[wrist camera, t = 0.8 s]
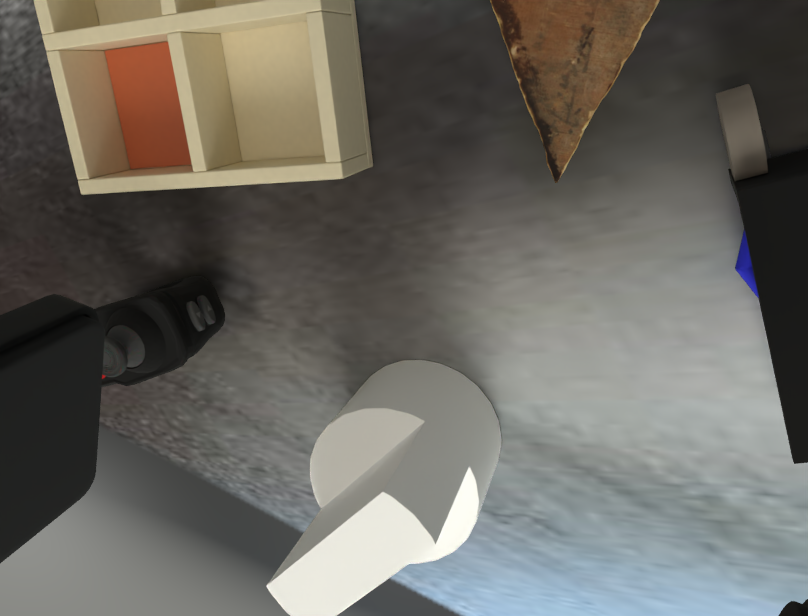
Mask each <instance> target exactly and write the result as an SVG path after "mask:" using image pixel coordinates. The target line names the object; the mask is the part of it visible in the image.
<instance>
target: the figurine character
mask: <svg viewBox="0 0 808 616" xmlns="http://www.w3.org/2000/svg"><path fill="white" fill-rule="evenodd" d="M716 100H717V106H718V112H719V117H720V122H721V127H722V132H723V137H724V141H725V146H726V150H727V155H728V159H729V164H730V168H731V169H728V170H729V174H730V179H731V183H732V186H733V189H734V191H735V194H736V197H737V199H738V202H739V206H740V211H741V216H742V220H743V225H744V232H743V237H742V241H741V245H740V250H739V254H738V258H737V263H736V267H735V269H736V271H737V272H738V273H739V274H740V276H741V277H742V278H743V279H744V281H745V282H746V283H747V285H748V286H749V287H750V288H751V290H752V291H753V292H754V293H755V295H756V296H757V297H758V298H759V301H760V306H761V311H762V316H763V320H764V325H765V330H766V335H767V339H768V344H769V349H770V354H771V359H772V363H773V368H774V373H775V378H776V382H777V387H778V392H779V397H780V401H781V406H782V411H783V416H784V420H785V425H786V430H787V435H788V440H789V444H790V449H791V454H792V458H793V462H794V464H796V463H807V462H808V149H806V150H802V151H798V152H794V153H790V154H786V155H782V156H778V157H774V158H771V155H770V151H769V146H768V142H767V138H766V133H765V131H764V130H763V129H762V128H761V126H760V121H759V117H758V112H757V108H756V104H755V100H754V97H753V93H752V90H751V87H750V85H749V84H746V85H743V86H739V87H736V88H733V89H729V90H726V91H723V92H719V93H716Z"/></svg>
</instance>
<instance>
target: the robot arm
mask: <svg viewBox="0 0 808 616" xmlns="http://www.w3.org/2000/svg"><path fill="white" fill-rule="evenodd" d="M104 341H105V329H104V326H103V324H101V323H100V322H99V317H98V315H97V312H96V311H95V310H94V309H93V308H91V307H89V306H86V305H84V304H81V303H79V302H76V301H74V300H71V299H69V298H66V297H63V296H61V295H56V294H53V295H49V296H46V297H43V298H41V299H38V300H36V301H34V302H31V303H29V304H27V305H24V306H22V307H19V308H17V309H15V310H12V311H10V312H7V313H5V314H3V315H0V563H1V562H2V561H4V560H5V559H6V558H7V557H9V556H10V555H11V554H12V553H14V552H15V551H16V550H17V549H19V548H20V547H21V546H22V545H24V544H25V543H26V542H27V541H29V540H30V539H31V538H32V537H34V536H35V535H36V534H37V533H38V532H40V531H41V530H42V529H43V528H45V527H46V526H47V525H48V524H50V523H51V522H52V521H53V520H55V519H56V518H57V517H58V516H60V515H61V514H62V513H63V512H64V511H66V510H67V509H68V508H70V507H71V506H72V505H73V504H74V503H76V502H77V501H78V500H80V499H81V498H82V497H83V496H84V495H85V494H86V492H87V491H88V490H89V488H90V487H91V484H92V483H93V480H94V478H95V473H96V460H97V446H98V431H99V416H100V401H101V386H102V371H103V356H104ZM779 616H808V599H807V600H806V601H805V602H804V603H803V604H800V603H798V602H795V601H791V602H789V603H788V604H787V605H786V606H785V607H784V608H783V610H782V611H781V613H780V614H779Z"/></svg>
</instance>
